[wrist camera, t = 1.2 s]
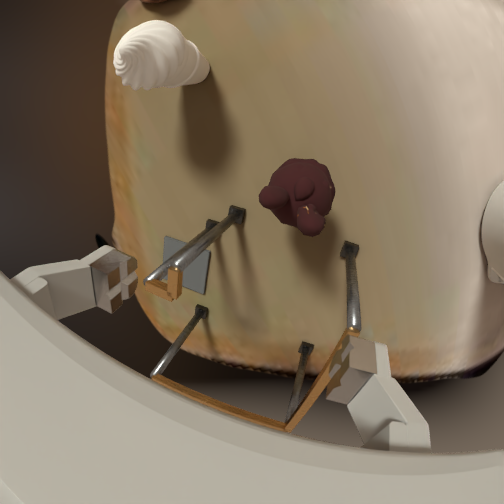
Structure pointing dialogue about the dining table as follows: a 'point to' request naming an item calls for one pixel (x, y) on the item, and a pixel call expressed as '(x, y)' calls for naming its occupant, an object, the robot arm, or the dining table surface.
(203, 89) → the dining table surface
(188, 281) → the mat
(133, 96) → the dining table surface
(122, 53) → the soft serve ice cream cone
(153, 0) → the cup and saucer
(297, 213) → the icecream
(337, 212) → the dining table surface
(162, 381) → the wire frame
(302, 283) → the dining table surface
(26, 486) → the robot arm
